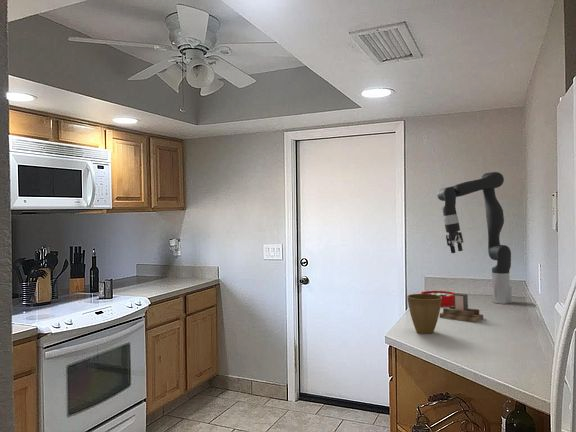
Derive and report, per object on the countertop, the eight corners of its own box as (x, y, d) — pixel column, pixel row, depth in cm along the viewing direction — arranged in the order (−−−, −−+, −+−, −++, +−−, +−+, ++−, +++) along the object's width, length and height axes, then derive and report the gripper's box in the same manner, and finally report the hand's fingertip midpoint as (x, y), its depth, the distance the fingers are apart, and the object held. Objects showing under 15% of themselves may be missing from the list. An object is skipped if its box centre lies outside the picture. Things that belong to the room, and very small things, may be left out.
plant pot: (417, 337, 203) (416, 300, 203) (402, 329, 217) (401, 294, 217) (449, 334, 206) (448, 298, 206) (432, 326, 220) (431, 292, 220)
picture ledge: (439, 317, 239) (439, 308, 239) (449, 313, 246) (448, 305, 246) (474, 322, 226) (474, 313, 226) (483, 318, 233) (483, 309, 233)
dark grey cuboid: (454, 313, 237) (453, 294, 237) (457, 312, 240) (457, 293, 240) (464, 315, 233) (464, 295, 233) (468, 314, 236) (467, 294, 236)
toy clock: (425, 296, 266) (417, 291, 286) (425, 307, 266) (417, 300, 286) (461, 296, 265) (450, 290, 285) (461, 306, 265) (450, 300, 285)
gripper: (452, 223, 254) (457, 253, 253) (463, 221, 264) (469, 249, 263) (439, 225, 259) (444, 254, 259) (451, 223, 269) (456, 251, 269)
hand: (457, 252), depth 261 cm, fingers open, 8 cm apart
